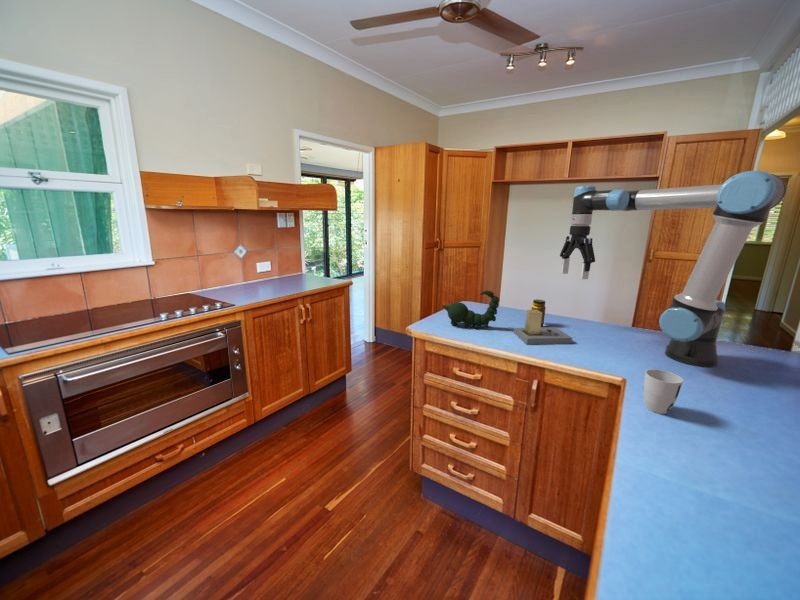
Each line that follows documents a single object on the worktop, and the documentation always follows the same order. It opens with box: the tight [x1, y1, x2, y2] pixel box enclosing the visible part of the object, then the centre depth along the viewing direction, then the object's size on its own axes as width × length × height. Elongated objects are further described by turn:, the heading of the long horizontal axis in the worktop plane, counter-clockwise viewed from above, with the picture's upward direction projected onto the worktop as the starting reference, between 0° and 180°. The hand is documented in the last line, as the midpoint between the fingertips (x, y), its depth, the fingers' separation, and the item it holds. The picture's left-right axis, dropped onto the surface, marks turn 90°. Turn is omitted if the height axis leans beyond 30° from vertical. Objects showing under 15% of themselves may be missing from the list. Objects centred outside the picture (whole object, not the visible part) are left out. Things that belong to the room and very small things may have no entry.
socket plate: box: [513, 326, 573, 345], centre depth 147 cm, size 13×19×2 cm
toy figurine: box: [441, 289, 500, 330], centre depth 158 cm, size 9×19×25 cm
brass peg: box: [524, 309, 542, 336], centre depth 145 cm, size 4×4×12 cm
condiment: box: [530, 298, 551, 327], centre depth 162 cm, size 7×8×12 cm
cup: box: [643, 368, 684, 415], centre depth 94 cm, size 8×8×10 cm
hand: (574, 276), depth 148 cm, fingers open, 13 cm apart
